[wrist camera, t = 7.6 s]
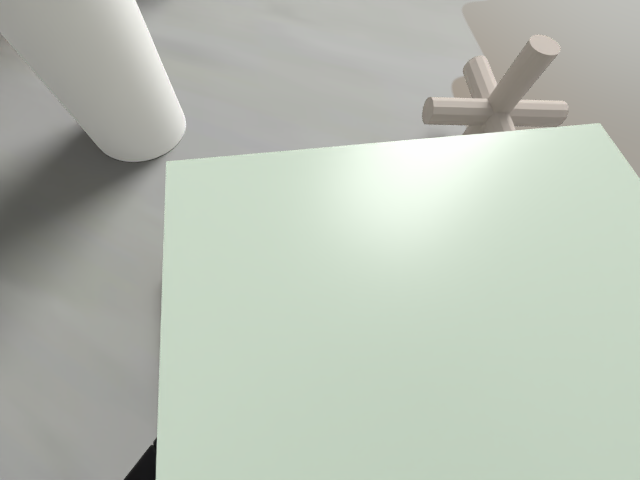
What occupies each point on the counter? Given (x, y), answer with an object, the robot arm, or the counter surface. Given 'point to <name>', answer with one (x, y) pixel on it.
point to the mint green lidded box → (403, 311)
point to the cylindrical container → (99, 71)
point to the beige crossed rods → (501, 95)
